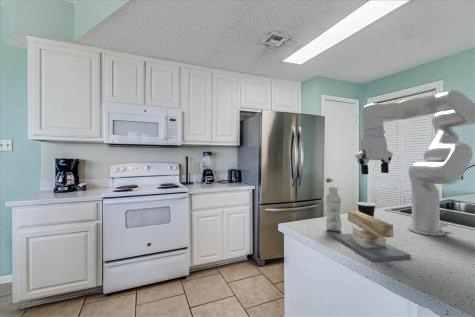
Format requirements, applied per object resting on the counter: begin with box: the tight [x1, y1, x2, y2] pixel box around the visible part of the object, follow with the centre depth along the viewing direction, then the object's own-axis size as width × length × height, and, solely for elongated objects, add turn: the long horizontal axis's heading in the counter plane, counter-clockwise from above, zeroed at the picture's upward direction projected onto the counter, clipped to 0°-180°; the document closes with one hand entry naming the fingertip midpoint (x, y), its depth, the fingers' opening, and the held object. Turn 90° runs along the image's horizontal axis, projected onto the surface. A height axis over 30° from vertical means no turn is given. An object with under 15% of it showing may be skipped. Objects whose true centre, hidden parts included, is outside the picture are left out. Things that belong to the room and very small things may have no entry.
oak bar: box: [347, 210, 394, 238], centre depth 83 cm, size 4×20×4 cm, turn 3°
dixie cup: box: [357, 201, 377, 218], centre depth 108 cm, size 8×8×11 cm
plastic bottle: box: [325, 186, 343, 232], centre depth 101 cm, size 6×7×20 cm
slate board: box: [333, 233, 412, 263], centre depth 83 cm, size 14×22×1 cm, turn 8°
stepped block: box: [350, 225, 387, 248], centre depth 83 cm, size 9×7×6 cm
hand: (375, 173), depth 93 cm, fingers open, 9 cm apart
